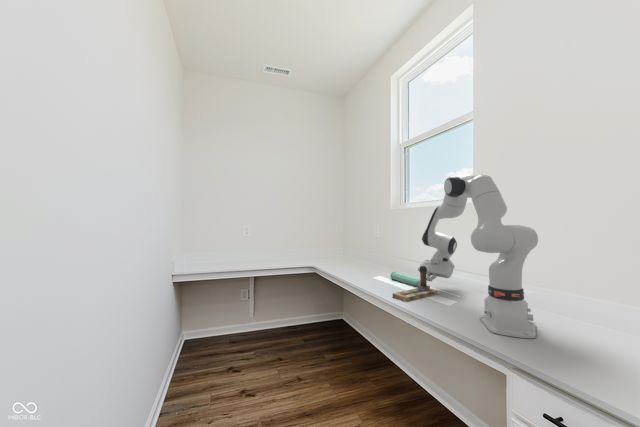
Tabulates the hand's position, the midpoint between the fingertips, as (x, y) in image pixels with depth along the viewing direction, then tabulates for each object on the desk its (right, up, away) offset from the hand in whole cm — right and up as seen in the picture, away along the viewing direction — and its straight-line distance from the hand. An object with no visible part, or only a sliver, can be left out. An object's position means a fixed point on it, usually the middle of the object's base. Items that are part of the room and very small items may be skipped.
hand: (428, 280), depth 159 cm
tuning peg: (-3, -4, -4) cm, 6 cm away
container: (-5, -8, +24) cm, 26 cm away
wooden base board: (-10, -7, -6) cm, 13 cm away
